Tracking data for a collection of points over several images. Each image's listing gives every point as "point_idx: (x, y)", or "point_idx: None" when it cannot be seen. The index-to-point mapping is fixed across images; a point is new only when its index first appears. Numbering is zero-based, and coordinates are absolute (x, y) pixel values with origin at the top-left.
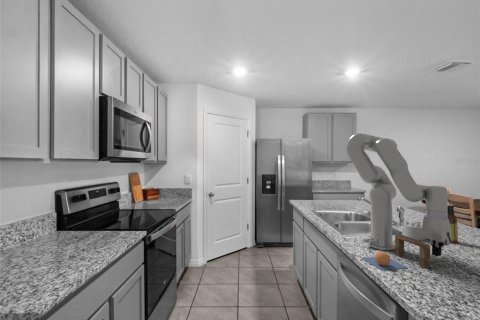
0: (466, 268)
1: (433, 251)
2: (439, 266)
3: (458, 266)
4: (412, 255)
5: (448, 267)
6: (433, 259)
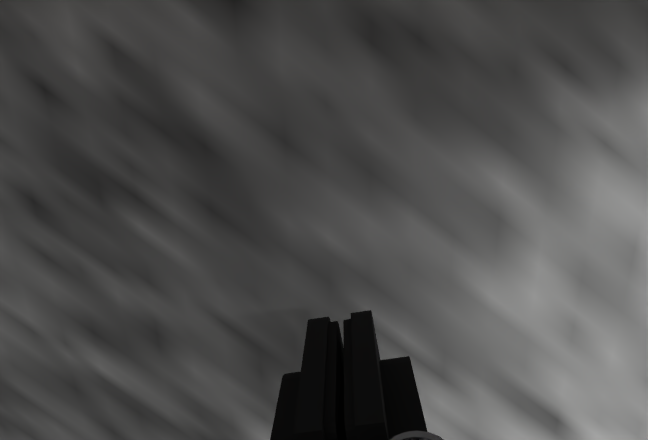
0: (50, 436)
1: (349, 353)
2: (45, 151)
3: (97, 398)
4: (504, 26)
5: (34, 253)
6: (317, 264)
